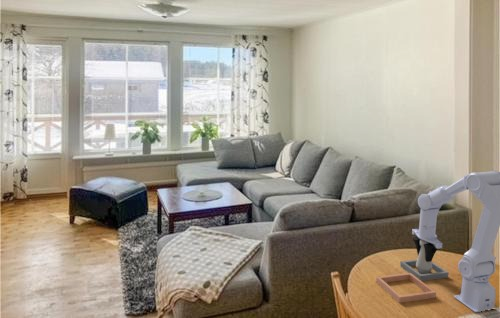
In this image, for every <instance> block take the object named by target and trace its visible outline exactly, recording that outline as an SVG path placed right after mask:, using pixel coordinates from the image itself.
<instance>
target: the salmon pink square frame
mask: <svg viewBox="0 0 500 318" xmlns="http://www.w3.org/2000/svg"><path fill="white" fill-rule="evenodd" d="M375 279H376V280H375V283H376V284H377V285H379V286H380V287H381V288H382V289H383V290H384V291H386V293H387V294H388V295H390V296H391V297H392V298H393V299H394V300H395V301H396V302H397V303H398V304H400V303H401V304H402V303H407V302H415V301H421V300H429V299H436V298H437V292H436V291H435V290H434V289H433V288H431V287H430V286H428V285H427V284H426V283H425V282H423V281H421V280H419V279H418V278H417V277H415V276H414V275H413V274H411V273H409V272H406V273H398V274H391V275H390V274H389V275H381V276H376V278H375ZM405 280H406V281H407V280H409V281H411V282H412V283H413V284H415V285H416V286H417V287H419V288H420V290H422V291H424V292H416V293H408V294H399V293H398V292H397V291H396V290H395V289H394V288H393V287H391V286H390V285H389V284H388V283H390V282H392V283H393V282H401V281H405Z"/></svg>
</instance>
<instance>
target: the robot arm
mask: <svg viewBox="0 0 500 318" xmlns="http://www.w3.org/2000/svg"><path fill="white" fill-rule="evenodd" d="M468 190H469V192H471V194H472V195H473V196H474V197H476V199H477V200H478V202H481V203H482V205H483V207H482V209H481V210H482V211H481V214H480V217H479V219H478V220H479V222H478V224H477V227H476V231H475V234H474V238H473V241H472V244H471V248H470V249H469V250H467V251H466V252H464V253H463V256H462V258H461V259H460V260H459V261H458V264H457V267H458V268H457V269H458V272H459V274H460V275H461V277H462V278H461V279H462V280H461V288H460V294H455V295H453V296H454V297H453V298H455V299H456V300H458V301H459V302H460V303H461V304H463V305H464V306H466V307H467V308H469V309H470V310H471V311H473V312H474V313H482V312H486V311H485V310H488V309H492V308H496V309H497V307H495V303H496V296H497V291H496V288H495V287H494V286H493V285H492V284H491V283H490V281H489V279H490V278H491V275H493V274H495V272H496V256H495V255H494V254H493V253H492V251H493V249H494V246H495V242H496V239H497V236H498V233H499V229H500V171H499V170H491V171H482V172H480V171H479V172H470V173H469V174H466V175H464V176H463V177H461V178H460V179H458V180H457V181H455V182H454V183H451V184H450V185H445V184H444V185H443V184H440V185H437V188H436V189H434V190H433V189H432V190H429V191H428V193H427V194H426V193H421V194H420V195H419V196H418V198H417V204H418V207H419V208H420V213H419V226H418V228H412V231H411V234H412V235H413V236H415V237H413V238H412V241H413V242H414V245H415V248H416V252H417V256H418V255H419V252H420V249H421V245H420V240H421V239H422V240H424V241H427V242H429V243H428V244H423V245H424V248H425V260H426V262H430V261H432V262H433V259H434V256H435V254H436V252H437V251H438V250H439V249H443V242H441V241H440V240H439V239H438V235H437V234H436V229H437V219H438V218H437V217H438V214H439V212H440V209H441V208H442V206H443V205H445V204H446V203H449V202H450V201H453V200H454V198H455V195H457V194H460V193H462V192H464V191H468ZM481 311H482V312H481ZM488 311H489V310H488Z"/></svg>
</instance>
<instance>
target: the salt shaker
mask: <svg viewBox="0 0 500 318" xmlns="http://www.w3.org/2000/svg"><path fill="white" fill-rule="evenodd" d="M428 243H429V242H427V241H424V240H422V239H421V240H420V245H421V249H420V252H419V255H418V254H417V259H416V260H417V262H416V266H415V267H416V271H417V272H418V273H420V274H428V273H431V271H432V270H433V269H432V262H433V260H432V261H430V262H426V260H425V248H424V245H423V244H428Z"/></svg>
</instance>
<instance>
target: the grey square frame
mask: <svg viewBox="0 0 500 318" xmlns="http://www.w3.org/2000/svg"><path fill="white" fill-rule="evenodd" d="M416 262H417V259H411V260H403V261H400V267H401V268H402V269H403V270H404V271H406V273H411V274H413V275H414V276H415V277H417V278H418V279H419V280H421V281H422V282H423V281H430V280H439V279H445V278H447V279H448V278H449V271H448V270H446V269H444V268H443V267H441V266H440V265H438V264H437V263H435V262H434V261H432V270H434V271H435V272H430V273H428V274H421V273H420V272H418V271H417V269H414V268H413V267H416Z"/></svg>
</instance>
